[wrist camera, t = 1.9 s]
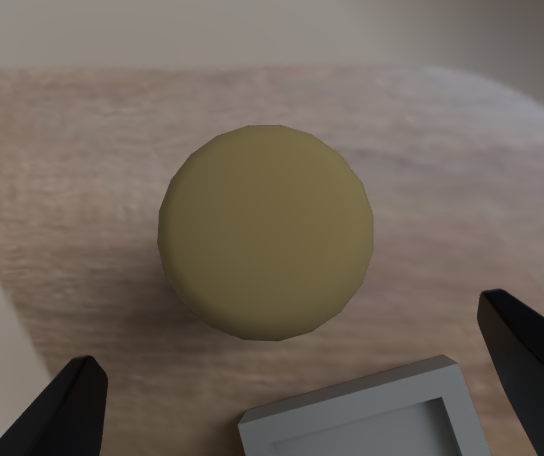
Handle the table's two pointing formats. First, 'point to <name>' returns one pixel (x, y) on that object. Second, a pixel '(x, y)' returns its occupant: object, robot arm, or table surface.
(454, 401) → the gray tray
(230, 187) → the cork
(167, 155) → the table surface
